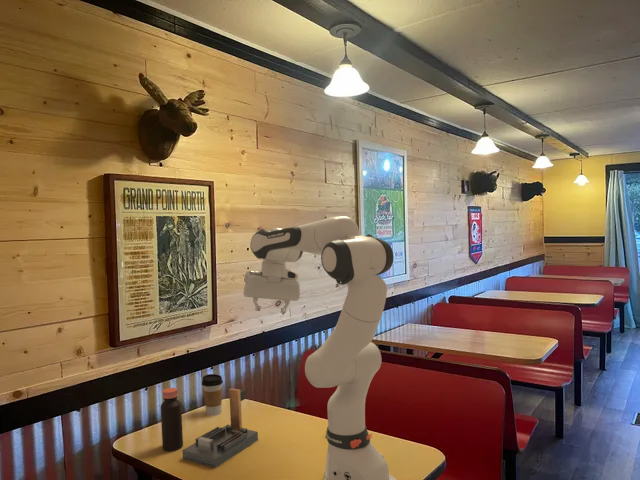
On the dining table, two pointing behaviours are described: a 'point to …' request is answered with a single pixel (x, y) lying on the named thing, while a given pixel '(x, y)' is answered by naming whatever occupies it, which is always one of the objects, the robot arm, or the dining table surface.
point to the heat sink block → (219, 445)
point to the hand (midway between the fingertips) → (270, 311)
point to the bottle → (171, 420)
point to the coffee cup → (212, 393)
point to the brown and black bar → (236, 408)
